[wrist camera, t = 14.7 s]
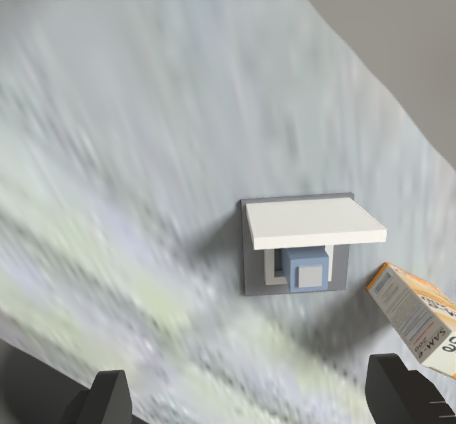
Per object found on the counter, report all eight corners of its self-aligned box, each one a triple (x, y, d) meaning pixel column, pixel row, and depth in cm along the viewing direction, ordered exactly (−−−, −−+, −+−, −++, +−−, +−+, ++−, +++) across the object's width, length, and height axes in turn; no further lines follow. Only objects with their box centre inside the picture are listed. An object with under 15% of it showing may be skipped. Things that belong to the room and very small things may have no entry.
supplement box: (434, 283, 43) (519, 361, 31) (411, 310, 45) (484, 394, 33) (385, 259, 42) (454, 331, 29) (363, 287, 43) (420, 367, 31)
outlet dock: (241, 199, 38) (248, 235, 29) (351, 192, 38) (393, 226, 29) (245, 292, 43) (252, 348, 34) (343, 286, 43) (376, 340, 34)
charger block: (280, 234, 39) (291, 261, 33) (313, 232, 39) (330, 258, 33) (280, 263, 41) (291, 294, 35) (312, 261, 41) (328, 291, 35)
